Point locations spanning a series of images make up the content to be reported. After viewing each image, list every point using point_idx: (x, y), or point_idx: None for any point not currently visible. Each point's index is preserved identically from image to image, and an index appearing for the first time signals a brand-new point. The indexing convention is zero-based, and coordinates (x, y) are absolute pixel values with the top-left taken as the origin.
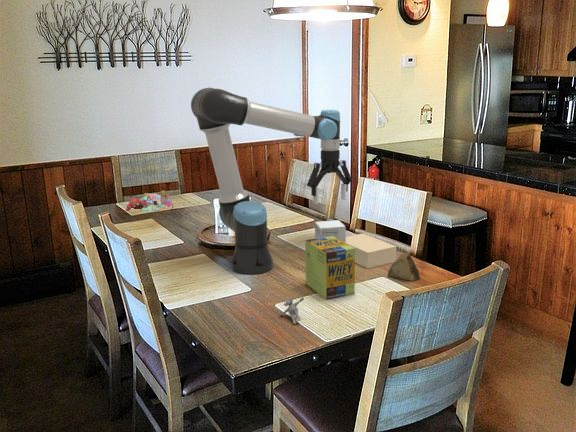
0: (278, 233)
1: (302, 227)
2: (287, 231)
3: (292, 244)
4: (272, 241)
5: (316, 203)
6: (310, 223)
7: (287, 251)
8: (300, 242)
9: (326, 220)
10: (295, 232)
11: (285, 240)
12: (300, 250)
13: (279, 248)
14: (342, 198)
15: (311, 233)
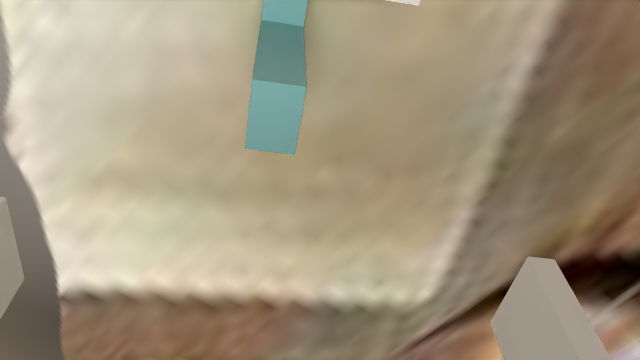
0: (387, 324)
1: (220, 328)
2: (329, 323)
3: (495, 158)
4: (516, 257)
5: (559, 272)
6: (139, 349)
7: (637, 76)
8: (432, 157)
9: (294, 149)
10: (310, 293)
11: (458, 231)
12: (574, 34)
13: (606, 151)
14: (8, 260)
15: (252, 237)
